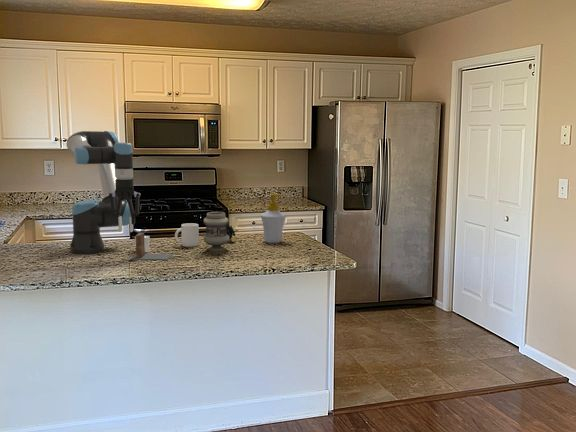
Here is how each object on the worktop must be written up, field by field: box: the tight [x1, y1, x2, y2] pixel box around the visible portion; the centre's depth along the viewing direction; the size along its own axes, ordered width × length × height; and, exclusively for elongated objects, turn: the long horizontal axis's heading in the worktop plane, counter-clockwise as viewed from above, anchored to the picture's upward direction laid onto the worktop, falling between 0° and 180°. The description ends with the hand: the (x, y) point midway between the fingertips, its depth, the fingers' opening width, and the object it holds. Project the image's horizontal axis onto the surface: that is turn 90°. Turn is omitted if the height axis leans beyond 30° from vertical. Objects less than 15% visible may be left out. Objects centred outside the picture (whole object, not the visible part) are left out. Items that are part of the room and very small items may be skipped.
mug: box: [174, 222, 200, 248], centre depth 278 cm, size 12×8×10 cm
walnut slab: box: [135, 232, 146, 258], centre depth 252 cm, size 2×6×10 cm, turn 0°
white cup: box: [134, 235, 151, 253], centre depth 264 cm, size 7×7×7 cm
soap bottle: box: [260, 193, 287, 244], centre depth 288 cm, size 13×13×25 cm
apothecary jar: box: [203, 211, 230, 254], centre depth 266 cm, size 12×12×18 cm
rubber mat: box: [130, 253, 173, 261], centre depth 253 cm, size 16×10×1 cm, turn 90°
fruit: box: [226, 223, 239, 242], centre depth 288 cm, size 10×11×15 cm
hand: (126, 231), depth 251 cm, fingers open, 4 cm apart
